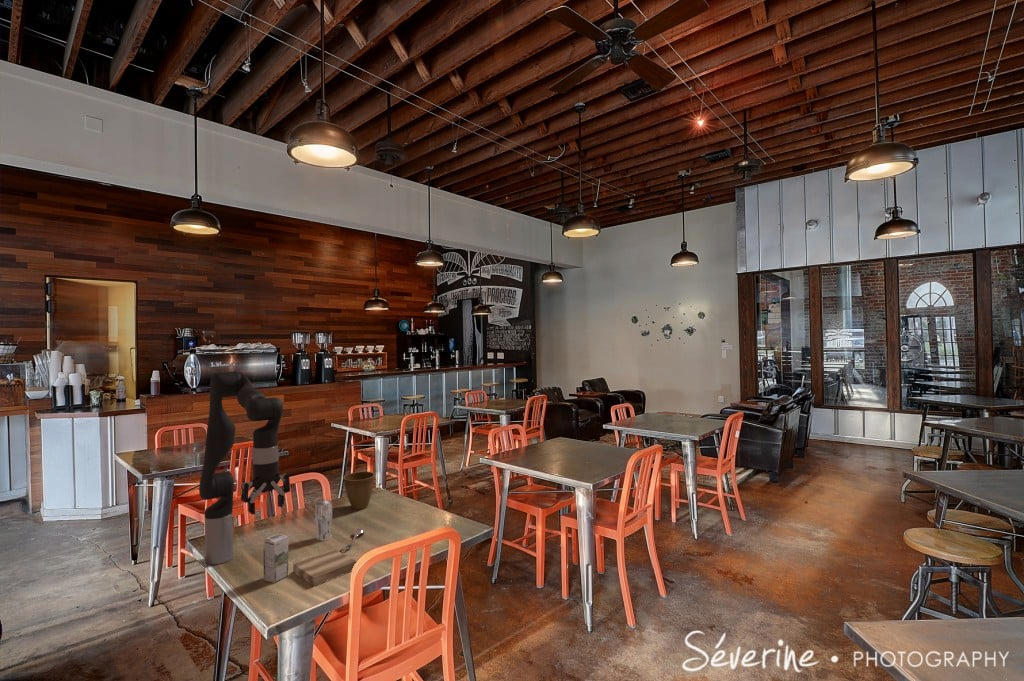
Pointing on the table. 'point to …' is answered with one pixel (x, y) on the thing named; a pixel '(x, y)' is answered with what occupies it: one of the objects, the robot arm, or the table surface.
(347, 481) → the plant pot
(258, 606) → the table surface
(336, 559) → the maple board
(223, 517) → the robot arm
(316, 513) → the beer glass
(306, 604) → the table surface
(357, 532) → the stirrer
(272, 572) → the syrup box
